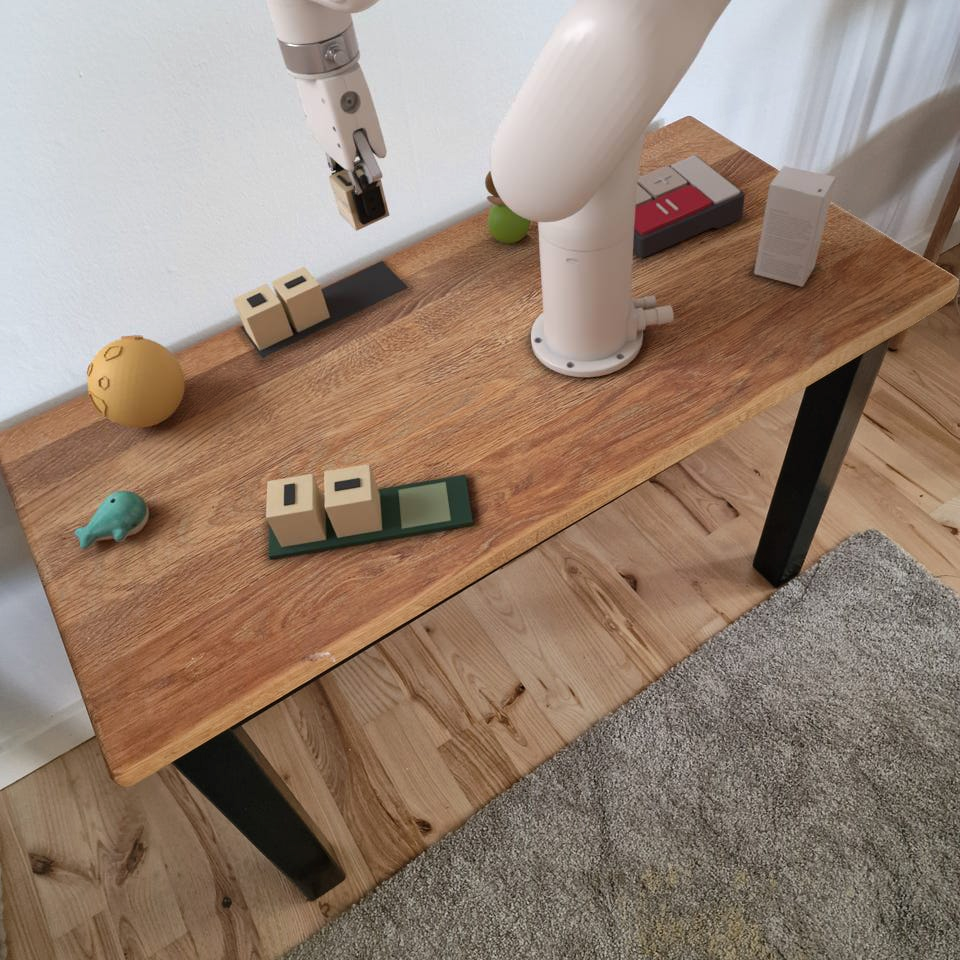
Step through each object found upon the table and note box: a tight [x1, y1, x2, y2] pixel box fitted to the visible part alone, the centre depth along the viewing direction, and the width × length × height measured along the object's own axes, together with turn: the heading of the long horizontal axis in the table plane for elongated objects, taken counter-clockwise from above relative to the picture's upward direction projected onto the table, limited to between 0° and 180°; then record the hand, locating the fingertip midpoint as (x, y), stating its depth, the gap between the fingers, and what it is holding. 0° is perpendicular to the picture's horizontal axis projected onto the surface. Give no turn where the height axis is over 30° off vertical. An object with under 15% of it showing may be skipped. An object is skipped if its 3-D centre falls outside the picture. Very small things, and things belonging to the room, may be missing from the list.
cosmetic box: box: [753, 165, 837, 288], centre depth 93 cm, size 6×4×12 cm
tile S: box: [328, 167, 390, 232], centre depth 94 cm, size 4×4×5 cm
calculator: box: [633, 154, 746, 259], centre depth 105 cm, size 11×4×15 cm
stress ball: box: [86, 334, 186, 429], centre depth 90 cm, size 10×10×10 cm
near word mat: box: [265, 463, 474, 561], centre depth 79 cm, size 20×6×6 cm, turn 98°
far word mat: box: [232, 260, 409, 359], centre depth 100 cm, size 20×7×6 cm, turn 123°
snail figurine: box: [484, 170, 531, 245], centre depth 103 cm, size 5×6×12 cm
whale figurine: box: [74, 490, 150, 551], centre depth 83 cm, size 6×7×4 cm
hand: (362, 207), depth 95 cm, fingers closed on tile S, 4 cm apart
